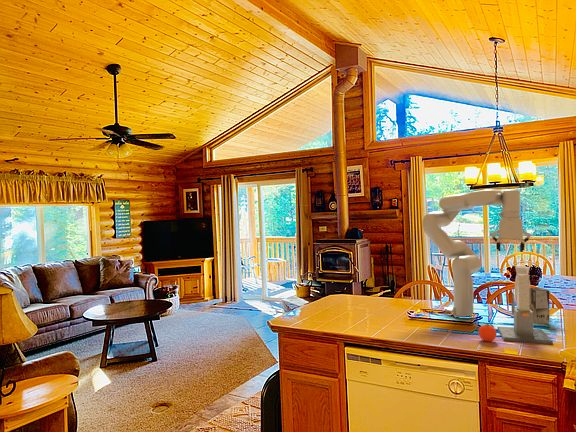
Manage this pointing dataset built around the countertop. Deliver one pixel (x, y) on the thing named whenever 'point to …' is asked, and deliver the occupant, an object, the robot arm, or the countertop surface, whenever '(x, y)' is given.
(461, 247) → the robot arm
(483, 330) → the clementine
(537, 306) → the coffee box
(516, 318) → the stand
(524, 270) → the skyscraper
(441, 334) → the countertop surface
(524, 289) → the column
